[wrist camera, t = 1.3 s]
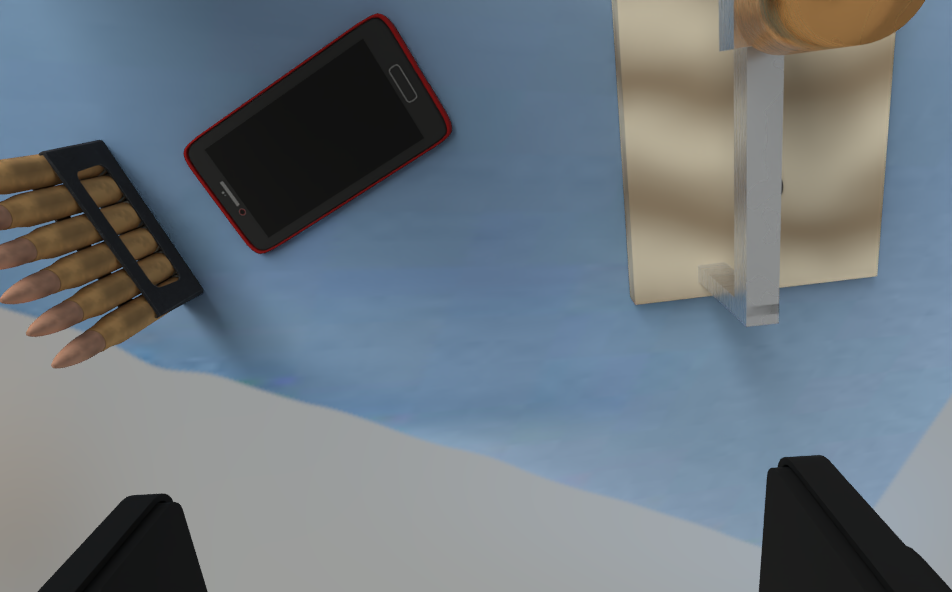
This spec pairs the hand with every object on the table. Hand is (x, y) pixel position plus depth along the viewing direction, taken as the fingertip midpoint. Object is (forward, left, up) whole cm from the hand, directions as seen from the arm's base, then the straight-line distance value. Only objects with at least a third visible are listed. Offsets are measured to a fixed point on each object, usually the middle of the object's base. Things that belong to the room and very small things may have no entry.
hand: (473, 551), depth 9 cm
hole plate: (-6, +15, -28) cm, 32 cm away
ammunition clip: (-2, -22, -28) cm, 36 cm away
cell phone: (-6, -10, -29) cm, 31 cm away
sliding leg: (-9, +13, -26) cm, 30 cm away
